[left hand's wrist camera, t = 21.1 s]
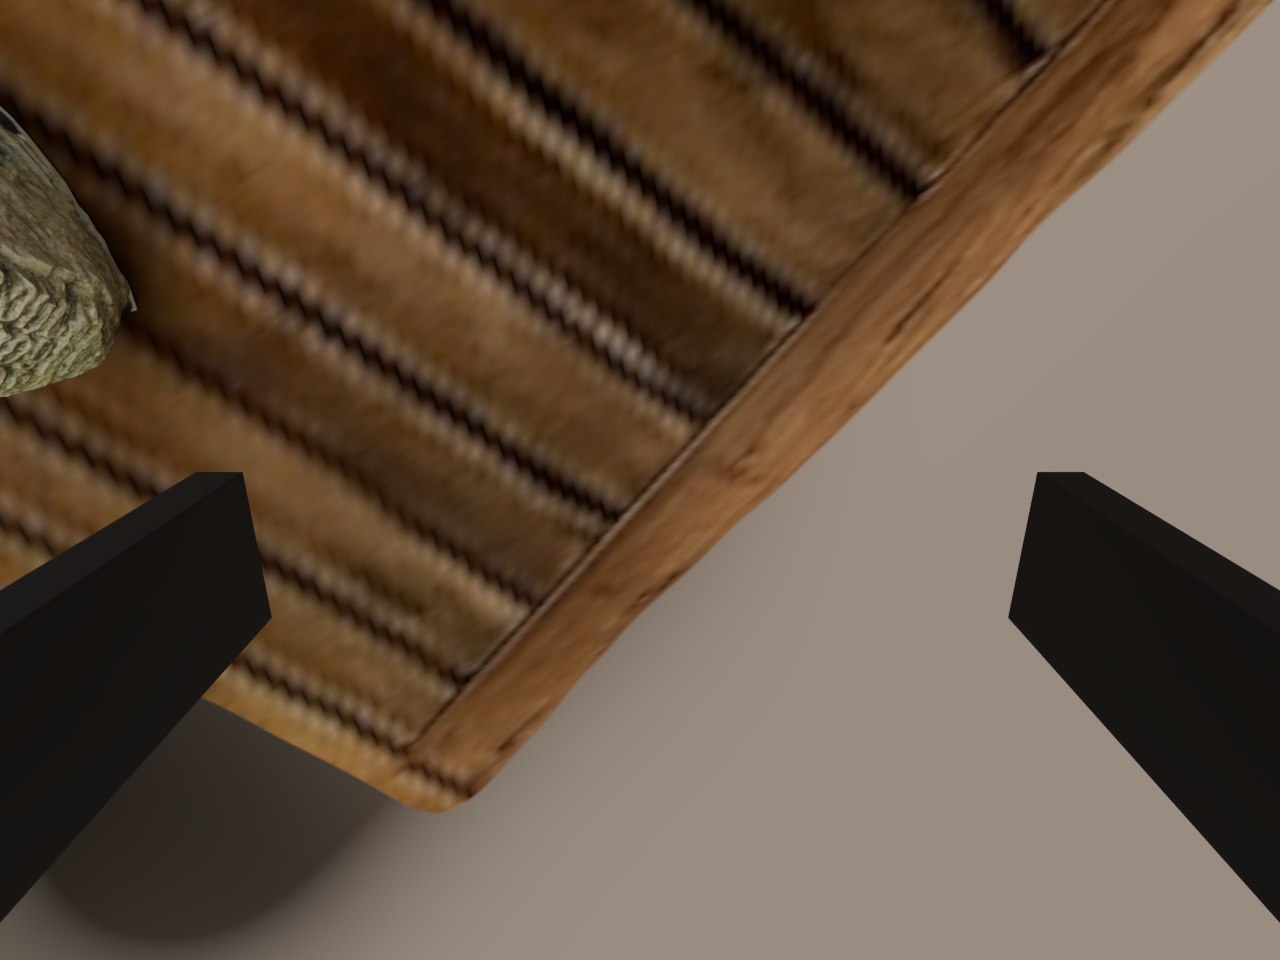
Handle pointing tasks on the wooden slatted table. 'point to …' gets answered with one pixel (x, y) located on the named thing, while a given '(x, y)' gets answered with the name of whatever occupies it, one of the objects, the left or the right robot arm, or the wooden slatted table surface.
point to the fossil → (50, 274)
